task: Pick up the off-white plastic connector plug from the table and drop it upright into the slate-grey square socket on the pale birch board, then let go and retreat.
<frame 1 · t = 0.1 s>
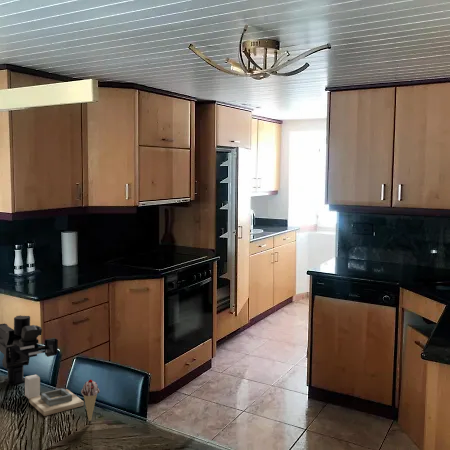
hand: (40, 356, 177), 17 cm above the table, tool horizontal, fingers open, 9 cm apart
ice cream cone: (89, 425, 162), on the table
socket holder: (56, 403, 177), on the table
connector plug: (32, 395, 184), on the table
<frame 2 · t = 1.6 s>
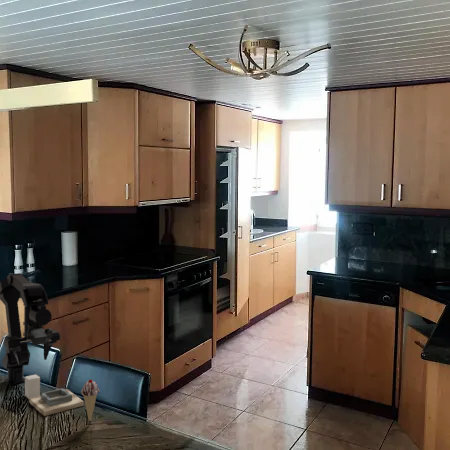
hand: (32, 362, 183), 12 cm above the table, tool pointing down, fingers open, 9 cm apart
nothing on the table moved.
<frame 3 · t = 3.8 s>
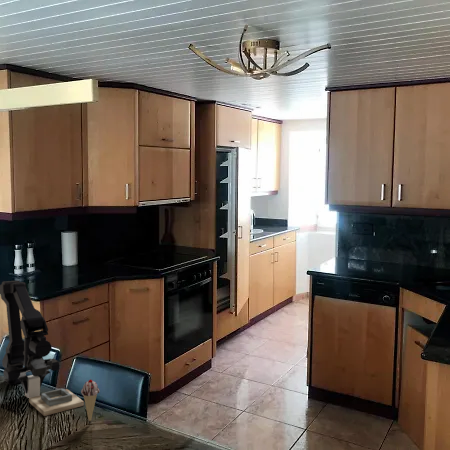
hand: (32, 391, 184), 2 cm above the table, tool pointing down, fingers closed on connector plug, 4 cm apart
connector plug: (32, 395, 184), on the table, touching gripper
everything else where it was.
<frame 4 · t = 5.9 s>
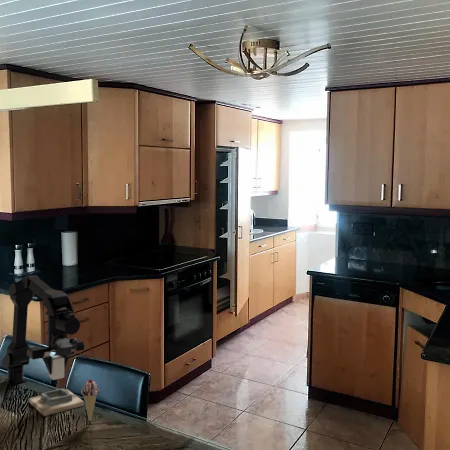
hand: (56, 372, 177), 11 cm above the table, tool pointing down, fingers closed on connector plug, 4 cm apart
connector plug: (56, 377, 177), point 10 cm above the table, touching gripper
everything else where it was.
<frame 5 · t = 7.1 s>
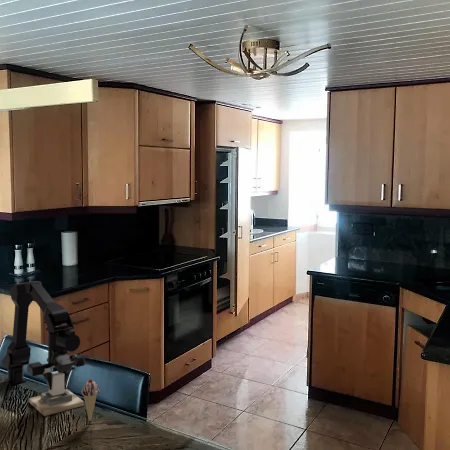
hand: (56, 388, 177), 5 cm above the table, tool pointing down, fingers closed on connector plug, 4 cm apart
connector plug: (56, 392, 177), point 4 cm above the table, touching gripper
everything else where it was.
when the fingers open (5 cm above the table, at t = 8.0 s): connector plug drops 2 cm, resting on socket holder.
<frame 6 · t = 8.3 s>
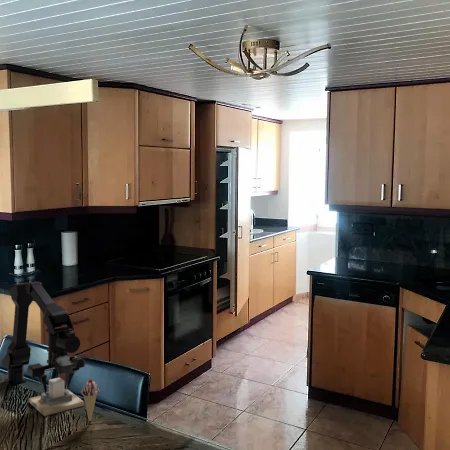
hand: (56, 390, 177), 5 cm above the table, tool pointing down, fingers open, 8 cm apart
connector plug: (56, 399, 177), point 1 cm above the table, touching socket holder
everything else where it was.
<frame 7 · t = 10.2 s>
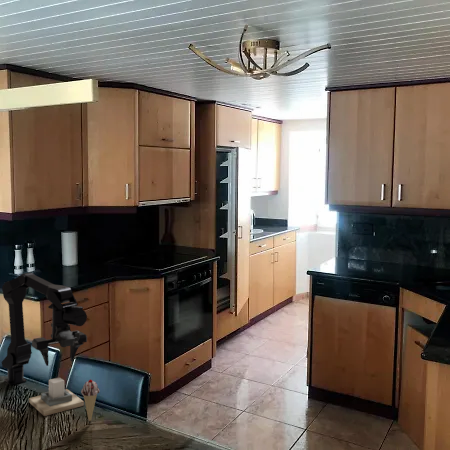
hand: (59, 363, 185), 12 cm above the table, tool pointing down, fingers open, 9 cm apart
nothing on the table moved.
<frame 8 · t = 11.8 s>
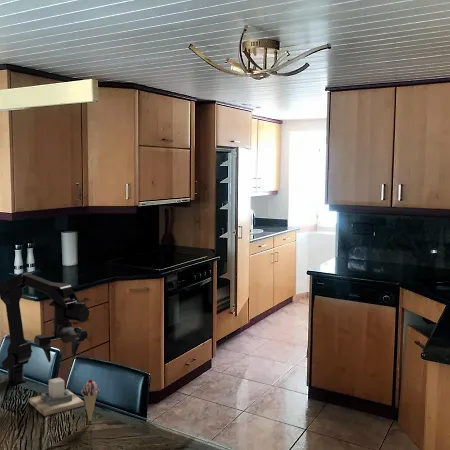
hand: (61, 359, 188), 12 cm above the table, tool pointing down, fingers open, 9 cm apart
nothing on the table moved.
at the end: connector plug 0.0 cm off-centre on the socket holder, point 1.5 cm above the socket holder's base; connector plug tilted 0°; the gripper is holding nothing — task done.
